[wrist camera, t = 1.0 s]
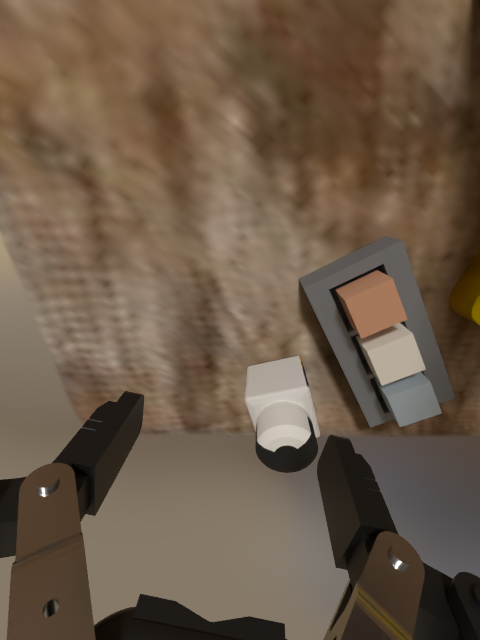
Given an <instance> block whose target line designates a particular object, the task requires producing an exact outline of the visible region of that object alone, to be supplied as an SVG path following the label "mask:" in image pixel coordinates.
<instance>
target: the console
mask: <svg viewBox="0 0 480 640" xmlns="http://www.w3.org/2000/svg"><path fill="white" fill-rule="evenodd" d="M376 270H378V271H380V272H382V273H384V274H386V275H388V276H389V277H391V278H393V281H394V283H395V286H396V289H397V291H398V294H399V297H400V300H401V302H402V305H403V308H404V311H405V313H406V316H407V319H408V320H405V321H403V322H400V323H401V324H402V325H403V326H404V327H406V328H407V329H408V330H409V331H410V332H412V333H413V335H414V338H415V341H416V343H417V346H418V349H419V352H420V354H421V357H422V360H423V363H424V365H425V368H426V370H423V371H420V372H421V373H422V374H423V375H424V376H425V377H426V378H427V379H428V380H429V381H430V382H431V384H432V387H433V390H434V393H435V395H436V398H437V401H438V404H442V403H444V402H447V401H450V400H453V399H456V397H455V394H454V391H453V388H452V386H451V383H450V380H449V377H448V374H447V371H446V368H445V365H444V362H443V359H442V356H441V353H440V350H439V347H438V344H437V341H436V338H435V335H434V332H433V329H432V326H431V323H430V320H429V318H428V315H427V312H426V309H425V306H424V303H423V300H422V297H421V294H420V291H419V288H418V285H417V282H416V279H415V276H414V273H413V270H412V267H411V264H410V261H409V258H408V255H407V252H406V250H405V247H404V244H403V241H402V240H398V239H394V238H390V237H383V238H381V239H379V240H377V241H375V242H373V243H371V244H369V245H367V246H365V247H363V248H361V249H358V250H356V251H354V252H352V253H350V254H348V255H346V256H344V257H342V258H340V259H338V260H336V261H334V262H332V263H330V264H328V265H326V266H324V267H322V268H320V269H318V270H316V271H314V272H312V273H310V274H308V275H306V276H304V277H302V278H300V279H299V281H300V283H301V285H302V287H303V289H304V291H305V293H306V296H307V298H308V300H309V302H310V304H311V306H312V308H313V310H314V312H315V314H316V316H317V318H318V321H319V323H320V325H321V327H322V329H323V331H324V333H325V335H326V337H327V339H328V341H329V343H330V345H331V348H332V350H333V352H334V354H335V356H336V358H337V360H338V362H339V364H340V366H341V368H342V370H343V373H344V375H345V377H346V379H347V381H348V383H349V385H350V387H351V389H352V391H353V393H354V395H355V398H356V400H357V402H358V404H359V406H360V408H361V410H362V412H363V414H364V416H365V418H366V420H367V422H368V424H369V426H370V428H371V427H374V426H377V425H380V424H383V423H386V422H389V421H391V420H394V417H393V416H392V414H391V412H390V411H389V409H388V408H387V406H386V404H385V402H384V399H383V397H382V395H381V392H380V390H379V388H378V386H377V383H376V381H375V379H374V378H376V376H375V375H374V373H373V372H372V371H371V369H370V368H369V365H368V363H367V361H366V358H365V356H364V354H363V352H362V349H361V347H360V345H359V343H358V340H357V338H356V336H359V335H358V334H357V332H356V331H355V330H354V329H353V327H352V326H351V325H350V322H349V320H348V318H347V315H346V313H345V311H344V309H343V306H342V304H341V302H340V300H339V297H338V295H337V293H336V291H335V290H336V289H338V288H340V287H342V286H345V285H347V284H349V283H351V282H353V281H355V280H357V279H359V278H361V277H364V276H366V275H368V274H370V273H372V272H374V271H376Z"/></svg>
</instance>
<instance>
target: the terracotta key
mask: <svg viewBox="0 0 480 640" xmlns="http://www.w3.org/2000/svg"><path fill="white" fill-rule="evenodd" d="M335 291H336V293H337V295H338V297H339V300H340V302H341V304H342V306H343V309H344V311H345V313H346V315H347V318H348V320H349V322H350V325H351V326H352V327H353V329H354V330H355V331H356V332H357V334H358V335H359V336H360V338H361V339H362V338H365V337H367V336H369V335H372V334H374V333H377V332H379V331H381V330H384V329H386V328H388V327H391V326H393V325H396V324H398V323H400V322H403V321H405V320H408V319H407V316H406V313H405V311H404V308H403V305H402V302H401V300H400V297H399V294H398V291H397V289H396V286H395V283H394V281H393V278H391V277H389V276H388V275H386V274H384V273H382V272H380V271H378V270H376V271H374V272H372V273H370V274H368V275H366V276H364V277H361V278H359V279H357V280H355V281H353V282H351V283H349V284H347V285H345V286H342V287H340V288H338V289H336V290H335Z"/></svg>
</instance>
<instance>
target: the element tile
mask: <svg viewBox="0 0 480 640" xmlns="http://www.w3.org/2000/svg"><path fill="white" fill-rule="evenodd" d="M449 305H450V308H451V309H452V310H453V311H454V312H456V313H457V314H459V315H461V316H463V317H465V318H466V319H468V320H470V321H472V322H474V323H476V324H478V325H480V249H479V250H478V252H477V254H476V255H475V257H474V258H473V260H472V261H471V263H470V264H469V266H468V267H467V269H466V270H465V272H464V273H463V275H462V277H461V278H460V280H459V281H458V283H457V284H456V286H455V287H454V289H453V290H452V292H451V295H450V298H449Z"/></svg>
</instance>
